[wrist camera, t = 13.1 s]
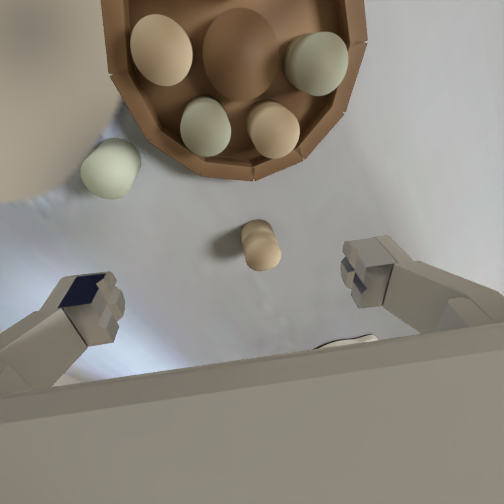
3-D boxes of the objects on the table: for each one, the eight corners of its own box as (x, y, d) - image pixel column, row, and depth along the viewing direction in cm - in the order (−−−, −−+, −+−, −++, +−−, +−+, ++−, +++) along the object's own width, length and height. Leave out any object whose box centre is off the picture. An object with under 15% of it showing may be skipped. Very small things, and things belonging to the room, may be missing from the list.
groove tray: (394, 36, 26) (434, 35, 21) (253, 203, 33) (261, 227, 29) (205, -243, 16) (207, -349, 12) (71, 77, 24) (41, 85, 20)
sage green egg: (148, 154, 28) (139, 172, 24) (130, 185, 30) (119, 207, 26) (108, 128, 27) (91, 143, 23) (90, 163, 28) (72, 183, 24)
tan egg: (278, 229, 36) (288, 253, 32) (258, 251, 37) (265, 276, 33) (254, 213, 34) (261, 236, 30) (234, 237, 36) (238, 261, 32)
